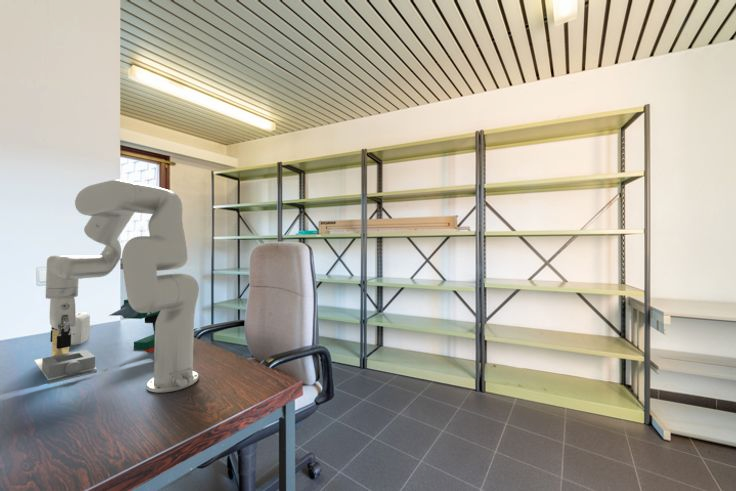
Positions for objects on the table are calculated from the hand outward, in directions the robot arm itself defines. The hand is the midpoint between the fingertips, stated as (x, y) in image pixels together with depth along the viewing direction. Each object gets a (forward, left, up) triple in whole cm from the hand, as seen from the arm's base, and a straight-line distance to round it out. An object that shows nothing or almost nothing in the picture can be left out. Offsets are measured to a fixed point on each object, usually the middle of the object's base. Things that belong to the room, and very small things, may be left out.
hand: (60, 344), depth 99 cm
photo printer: (+21, -9, -7) cm, 23 cm away
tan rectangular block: (0, 0, -5) cm, 5 cm away
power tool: (-7, -22, -7) cm, 24 cm away
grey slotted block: (-6, 0, -6) cm, 9 cm away
